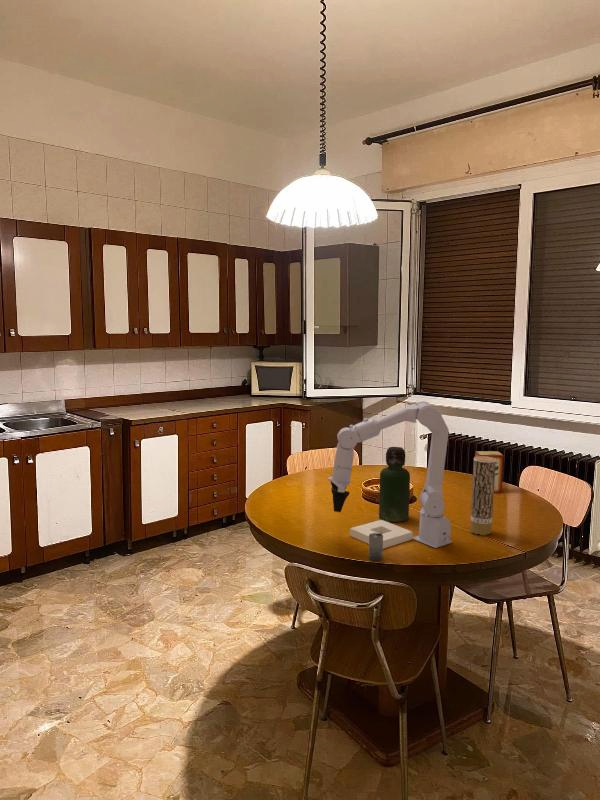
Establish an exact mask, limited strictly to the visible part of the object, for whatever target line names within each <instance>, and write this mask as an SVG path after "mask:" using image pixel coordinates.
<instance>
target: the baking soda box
mask: <svg viewBox="0 0 600 800" xmlns="http://www.w3.org/2000/svg"><path fill="white" fill-rule="evenodd" d="M476 456H488V457H493V458H495V459H496V464H495V482H494V494H502V493H503V492H502V491H503V490H502V489H503V476H504V475H503V474H504V459H505V458H504V457H505V456H504V454H503V453H501V452H500V451H496V450H495V451H493V450H491V451H490V450H488V451H487V450H486V451H483V450H482V451H481V450H480V451H477V450H475V454H474V457H476Z"/></svg>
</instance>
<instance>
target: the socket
mask: <svg viewBox="0 0 600 800" xmlns="http://www.w3.org/2000/svg"><path fill="white" fill-rule="evenodd" d="M372 533H379V534H382V535H383V549H386V548H389V547H393V546H396V545H398V544H403V543H405V542H408V541H412V540H413V533H414V532H413V531H411V530H409V529H406V528H403V527H401V526H399V525H396V524H393V523H391V522H390V521H386V520H383V519H379V520H375V521H372V522H368V523H365V524H361V525H358V526H357V525H356V526H353V527H350V528H349V536H350V537H352V538H355V539H356V540H358V541H361V542H363V543H366V544H368V545H369V535H370V534H372Z"/></svg>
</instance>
